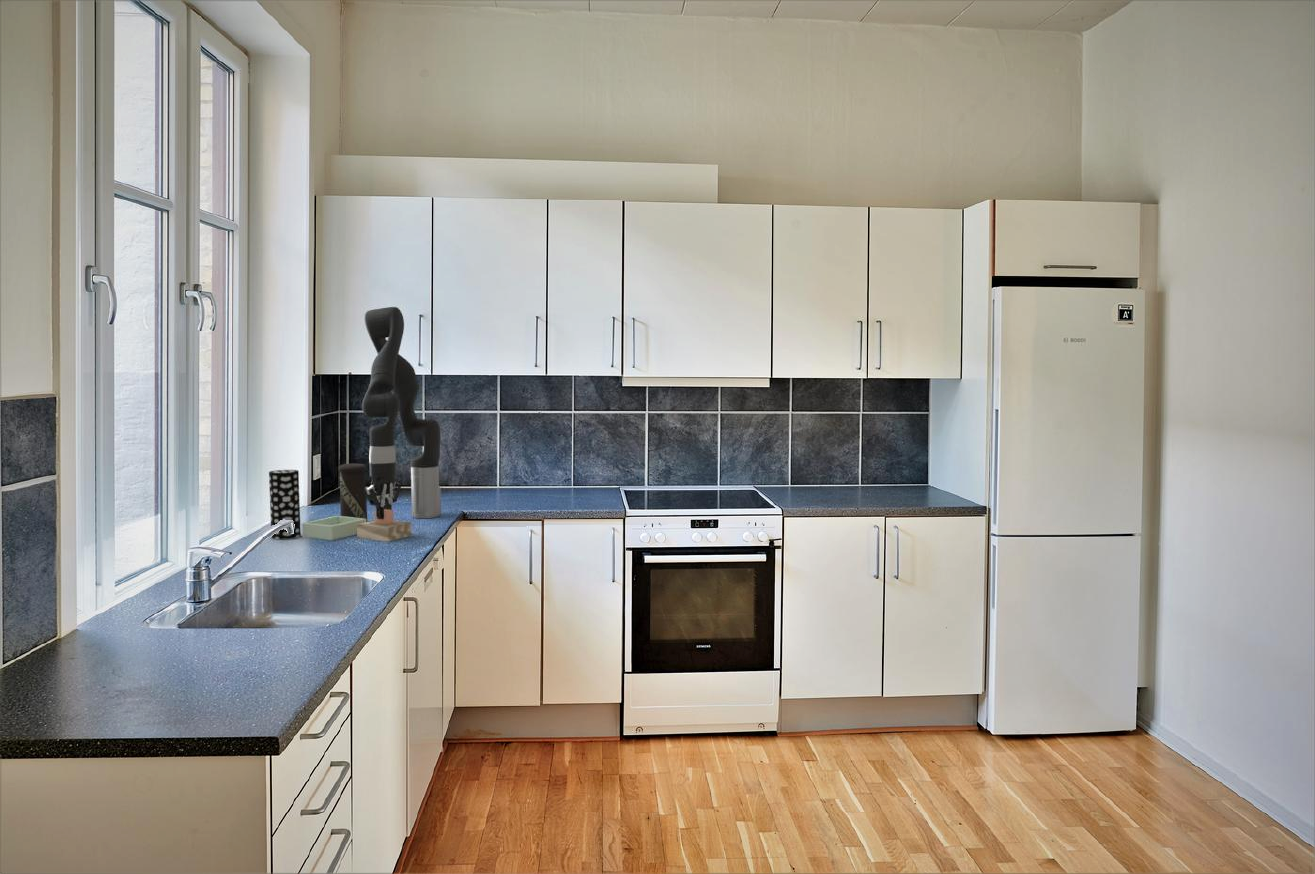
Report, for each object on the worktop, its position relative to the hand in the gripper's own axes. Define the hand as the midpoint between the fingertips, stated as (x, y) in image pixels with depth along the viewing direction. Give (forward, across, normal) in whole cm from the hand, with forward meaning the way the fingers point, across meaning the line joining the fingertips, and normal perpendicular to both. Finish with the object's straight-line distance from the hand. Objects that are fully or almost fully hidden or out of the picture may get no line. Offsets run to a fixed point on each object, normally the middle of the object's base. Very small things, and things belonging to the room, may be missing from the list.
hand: (384, 517), depth 274 cm
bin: (+7, +4, -16) cm, 18 cm away
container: (+7, -14, -26) cm, 30 cm away
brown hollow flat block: (+7, 0, 0) cm, 7 cm away
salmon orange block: (+6, 0, 0) cm, 6 cm away
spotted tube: (+7, +10, -30) cm, 32 cm away
